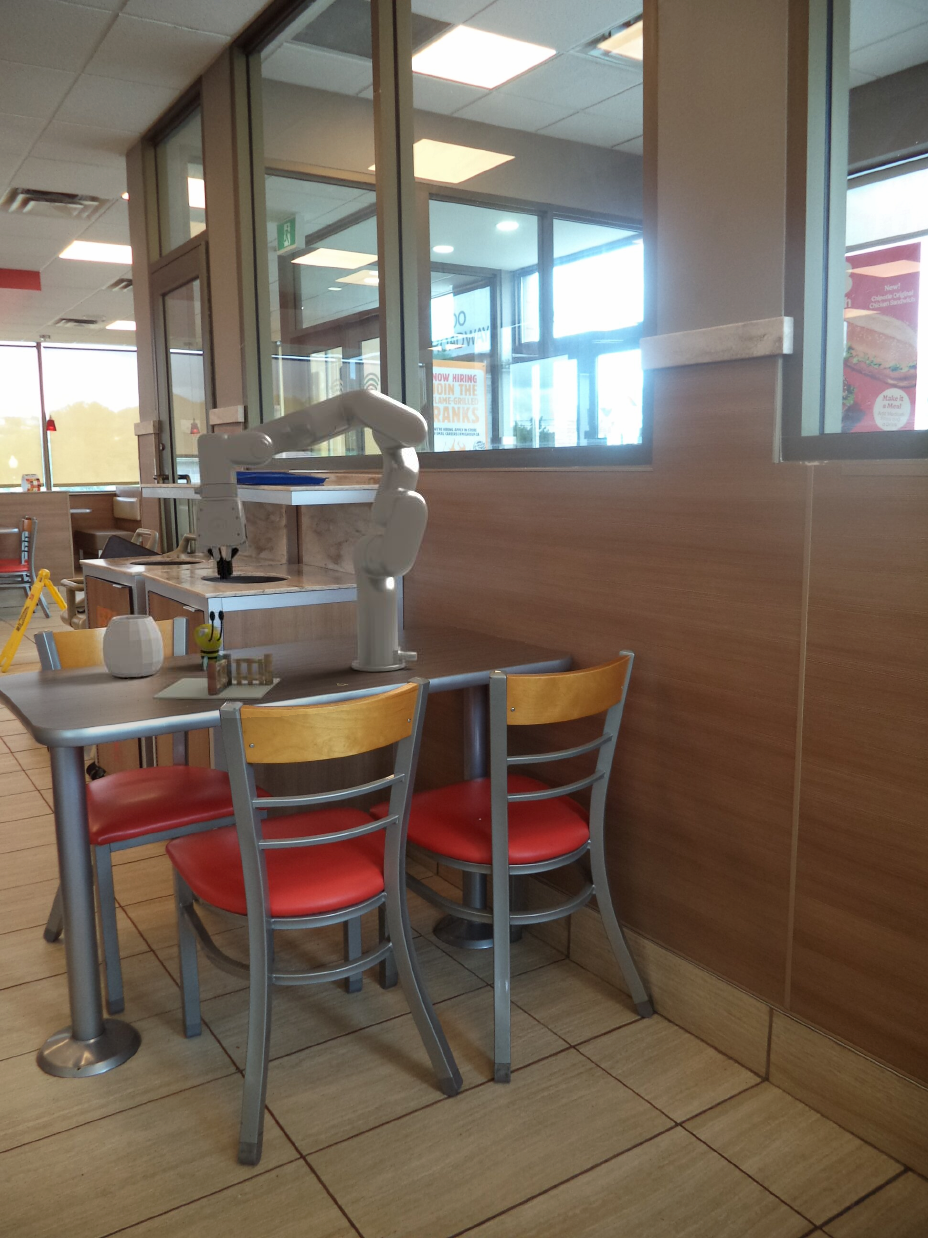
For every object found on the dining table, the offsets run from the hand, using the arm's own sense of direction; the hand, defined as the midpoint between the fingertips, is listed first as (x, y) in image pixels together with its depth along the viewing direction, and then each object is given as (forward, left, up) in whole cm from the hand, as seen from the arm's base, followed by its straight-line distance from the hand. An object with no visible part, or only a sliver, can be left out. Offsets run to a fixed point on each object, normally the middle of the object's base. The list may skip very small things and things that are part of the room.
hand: (225, 578), depth 207 cm
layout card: (+1, +4, -23) cm, 24 cm away
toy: (+10, -21, -24) cm, 33 cm away
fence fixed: (-4, +1, -23) cm, 24 cm away
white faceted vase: (+25, -11, -24) cm, 36 cm away
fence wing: (0, +7, -23) cm, 24 cm away
